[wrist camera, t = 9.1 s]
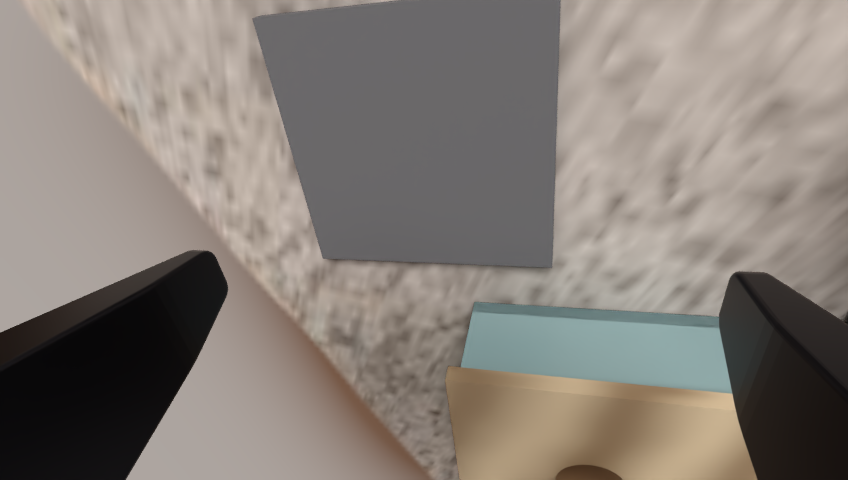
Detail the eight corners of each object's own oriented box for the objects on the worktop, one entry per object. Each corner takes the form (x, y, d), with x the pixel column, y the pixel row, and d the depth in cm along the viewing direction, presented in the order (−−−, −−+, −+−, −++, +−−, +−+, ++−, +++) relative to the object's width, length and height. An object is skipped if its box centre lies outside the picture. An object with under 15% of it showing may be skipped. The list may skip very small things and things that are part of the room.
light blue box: (724, 317, 23) (759, 404, 19) (680, 461, 29) (700, 549, 25) (474, 302, 26) (458, 374, 22) (486, 435, 32) (475, 510, 28)
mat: (560, -18, 16) (560, -16, 16) (552, 260, 23) (552, 267, 22) (259, 15, 20) (252, 18, 19) (327, 252, 26) (323, 258, 26)
